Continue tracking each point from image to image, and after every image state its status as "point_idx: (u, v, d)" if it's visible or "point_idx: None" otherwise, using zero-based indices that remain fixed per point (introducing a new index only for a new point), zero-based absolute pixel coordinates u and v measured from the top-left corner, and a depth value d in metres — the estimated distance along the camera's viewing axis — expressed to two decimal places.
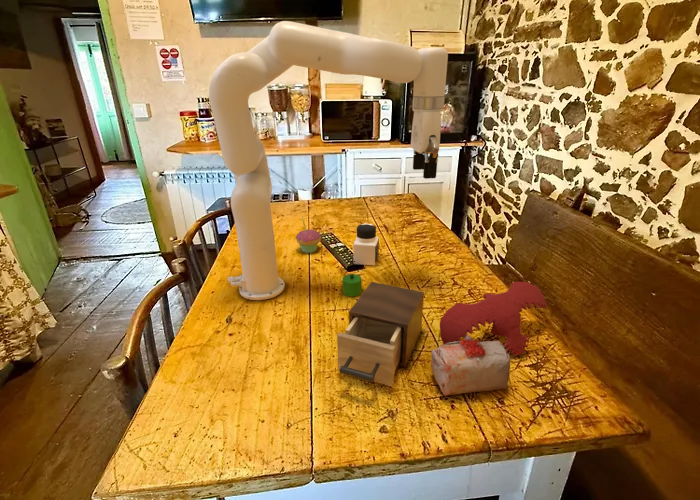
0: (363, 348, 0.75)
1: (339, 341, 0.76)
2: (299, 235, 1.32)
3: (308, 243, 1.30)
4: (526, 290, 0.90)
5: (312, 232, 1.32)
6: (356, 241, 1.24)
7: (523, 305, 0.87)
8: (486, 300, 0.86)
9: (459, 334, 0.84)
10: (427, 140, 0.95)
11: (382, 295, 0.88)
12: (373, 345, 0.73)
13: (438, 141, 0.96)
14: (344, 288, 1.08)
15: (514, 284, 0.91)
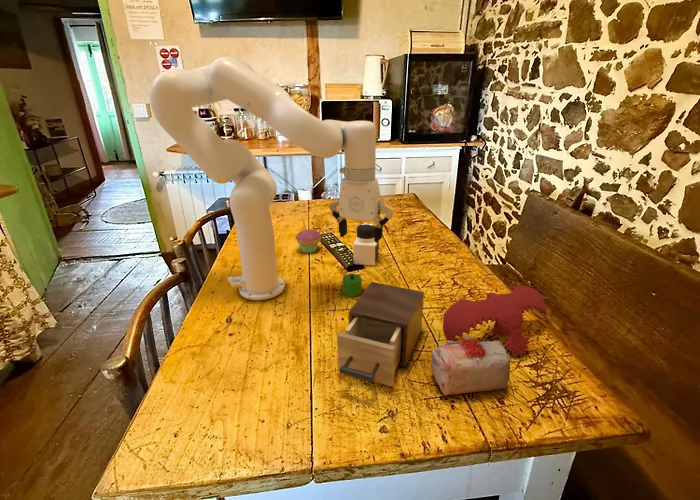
0: (363, 348, 0.75)
1: (339, 341, 0.76)
2: (299, 235, 1.32)
3: (308, 243, 1.30)
4: (529, 293, 0.91)
5: (312, 232, 1.32)
6: (356, 241, 1.24)
7: (526, 308, 0.87)
8: (490, 298, 0.87)
9: (463, 329, 0.83)
10: (377, 207, 0.97)
11: (382, 295, 0.88)
12: (373, 345, 0.73)
13: None
14: (344, 288, 1.08)
15: (517, 287, 0.92)
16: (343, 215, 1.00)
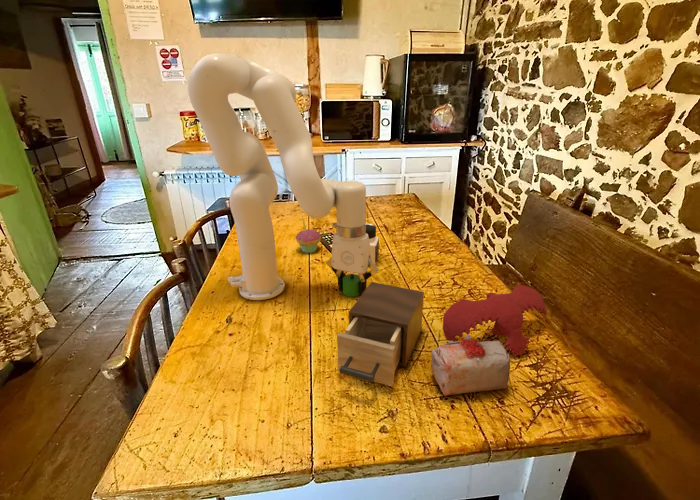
0: (363, 348, 0.75)
1: (339, 341, 0.76)
2: (299, 235, 1.32)
3: (308, 243, 1.30)
4: (529, 293, 0.91)
5: (312, 232, 1.32)
6: None
7: (526, 308, 0.87)
8: (490, 298, 0.87)
9: (463, 329, 0.83)
10: (367, 261, 1.03)
11: (382, 295, 0.88)
12: (373, 345, 0.73)
13: (370, 258, 1.05)
14: (344, 288, 1.08)
15: (517, 287, 0.92)
16: (335, 267, 1.05)
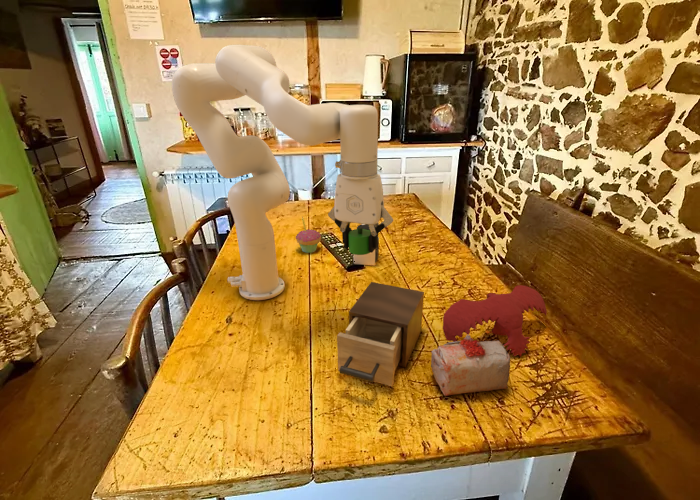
0: (363, 348, 0.75)
1: (339, 341, 0.76)
2: (299, 235, 1.32)
3: (308, 243, 1.30)
4: (529, 293, 0.91)
5: (312, 232, 1.32)
6: None
7: (526, 308, 0.87)
8: (490, 298, 0.87)
9: (463, 329, 0.83)
10: (380, 208, 0.82)
11: (382, 295, 0.88)
12: (373, 345, 0.73)
13: (383, 206, 0.85)
14: (351, 245, 0.87)
15: (517, 287, 0.92)
16: (340, 218, 0.85)
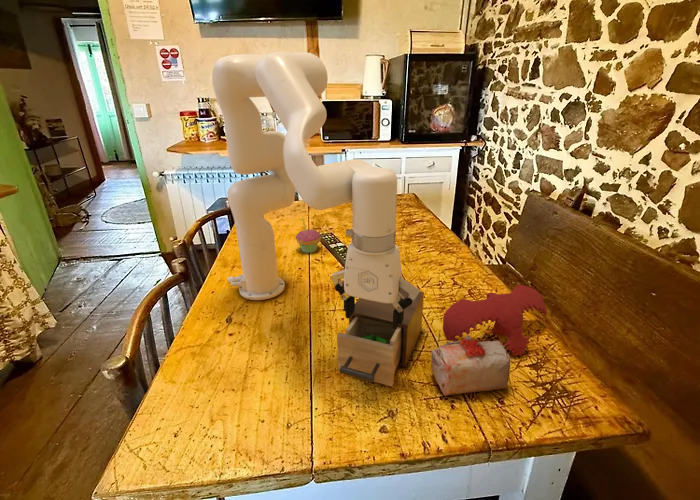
0: (362, 348, 0.75)
1: (339, 341, 0.76)
2: (299, 235, 1.32)
3: (308, 243, 1.30)
4: (529, 293, 0.91)
5: (312, 232, 1.32)
6: None
7: (526, 308, 0.87)
8: (490, 298, 0.87)
9: (463, 329, 0.83)
10: (398, 286, 0.70)
11: None
12: (373, 345, 0.73)
13: None
14: None
15: (517, 287, 0.92)
16: (350, 293, 0.73)
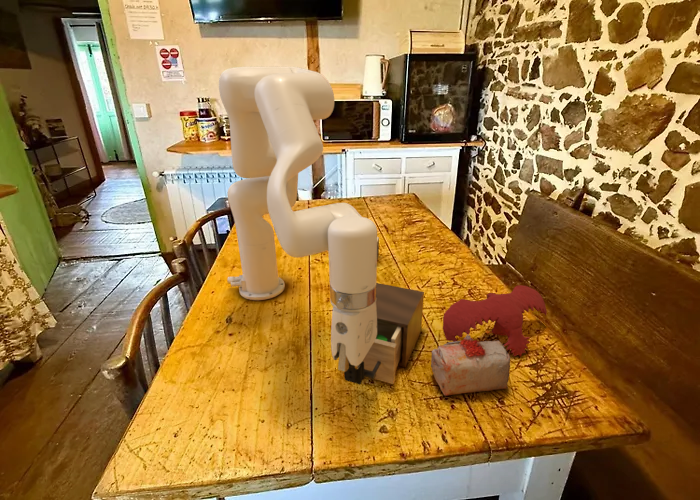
0: None
1: None
2: None
3: None
4: (529, 293, 0.91)
5: None
6: None
7: (526, 308, 0.87)
8: (490, 298, 0.87)
9: (463, 329, 0.83)
10: None
11: (382, 295, 0.88)
12: (374, 343, 0.74)
13: None
14: None
15: (517, 287, 0.92)
16: (361, 360, 0.65)
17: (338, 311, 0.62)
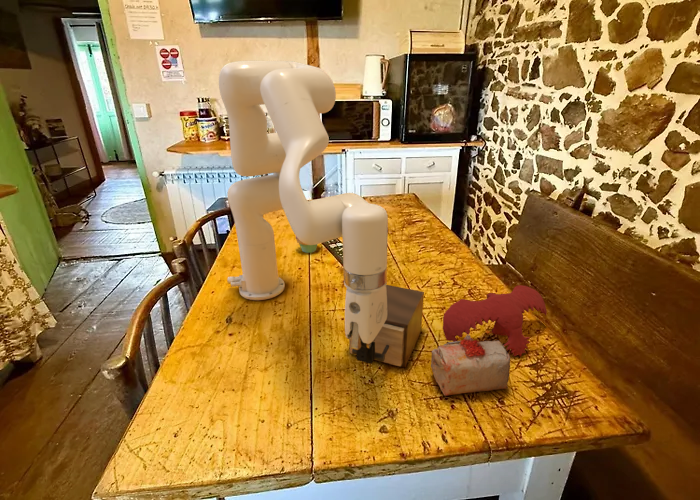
0: None
1: None
2: None
3: None
4: (529, 293, 0.91)
5: None
6: None
7: (526, 308, 0.87)
8: (490, 298, 0.87)
9: (463, 329, 0.83)
10: None
11: None
12: (383, 327, 0.78)
13: None
14: None
15: (517, 287, 0.92)
16: (372, 339, 0.69)
17: (351, 292, 0.66)
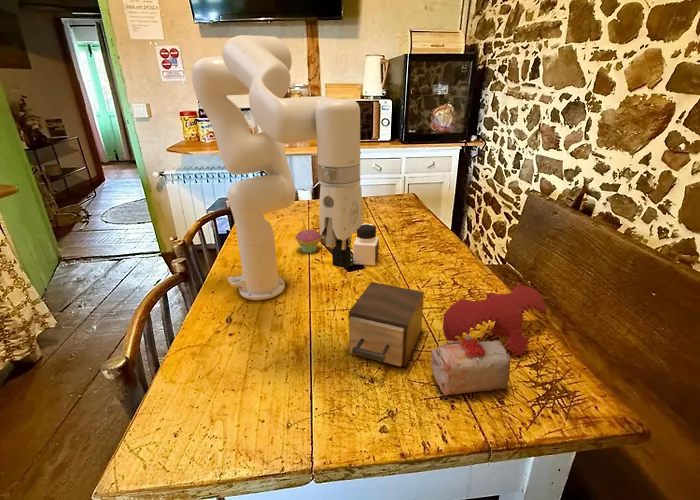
0: (373, 331, 0.80)
1: (351, 324, 0.81)
2: (299, 235, 1.32)
3: (308, 243, 1.30)
4: (529, 293, 0.91)
5: (312, 232, 1.32)
6: (356, 241, 1.24)
7: (526, 308, 0.87)
8: (490, 298, 0.87)
9: (463, 329, 0.83)
10: None
11: (382, 295, 0.88)
12: (383, 327, 0.78)
13: None
14: None
15: (517, 287, 0.92)
16: (346, 236, 0.71)
17: (325, 186, 0.68)
